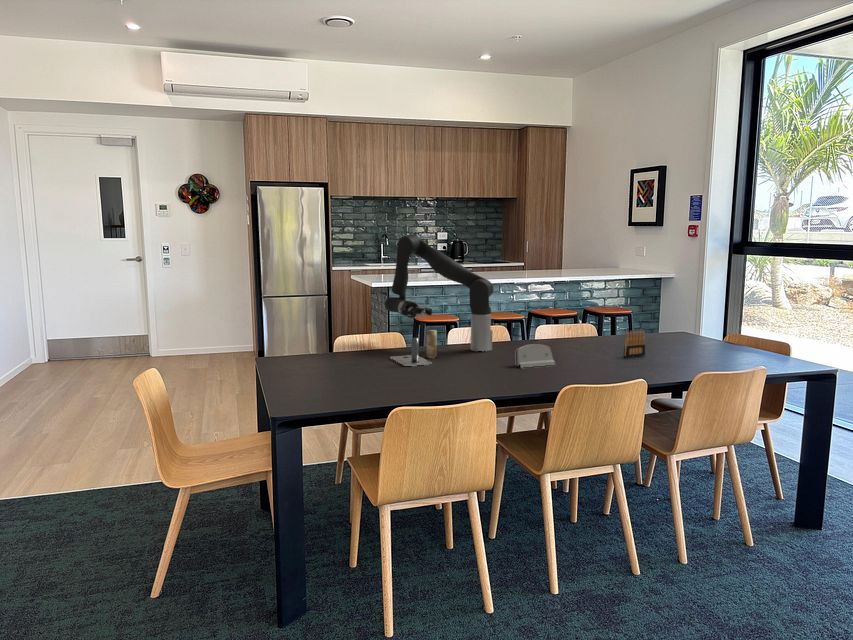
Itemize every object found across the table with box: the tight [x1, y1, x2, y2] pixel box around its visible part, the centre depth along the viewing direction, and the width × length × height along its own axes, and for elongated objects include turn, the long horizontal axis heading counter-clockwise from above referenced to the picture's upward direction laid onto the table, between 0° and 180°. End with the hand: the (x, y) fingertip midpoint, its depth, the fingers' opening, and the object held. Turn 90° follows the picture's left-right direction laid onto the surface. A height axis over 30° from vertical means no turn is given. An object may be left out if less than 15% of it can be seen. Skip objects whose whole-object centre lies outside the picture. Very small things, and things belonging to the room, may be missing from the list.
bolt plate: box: [390, 337, 433, 367], centre depth 265 cm, size 12×18×11 cm, turn 23°
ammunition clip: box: [623, 328, 646, 358], centre depth 278 cm, size 11×2×12 cm, turn 113°
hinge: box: [514, 343, 556, 369], centre depth 259 cm, size 17×5×10 cm, turn 110°
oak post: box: [426, 329, 438, 359], centre depth 274 cm, size 4×4×12 cm
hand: (422, 313), depth 282 cm, fingers open, 8 cm apart
